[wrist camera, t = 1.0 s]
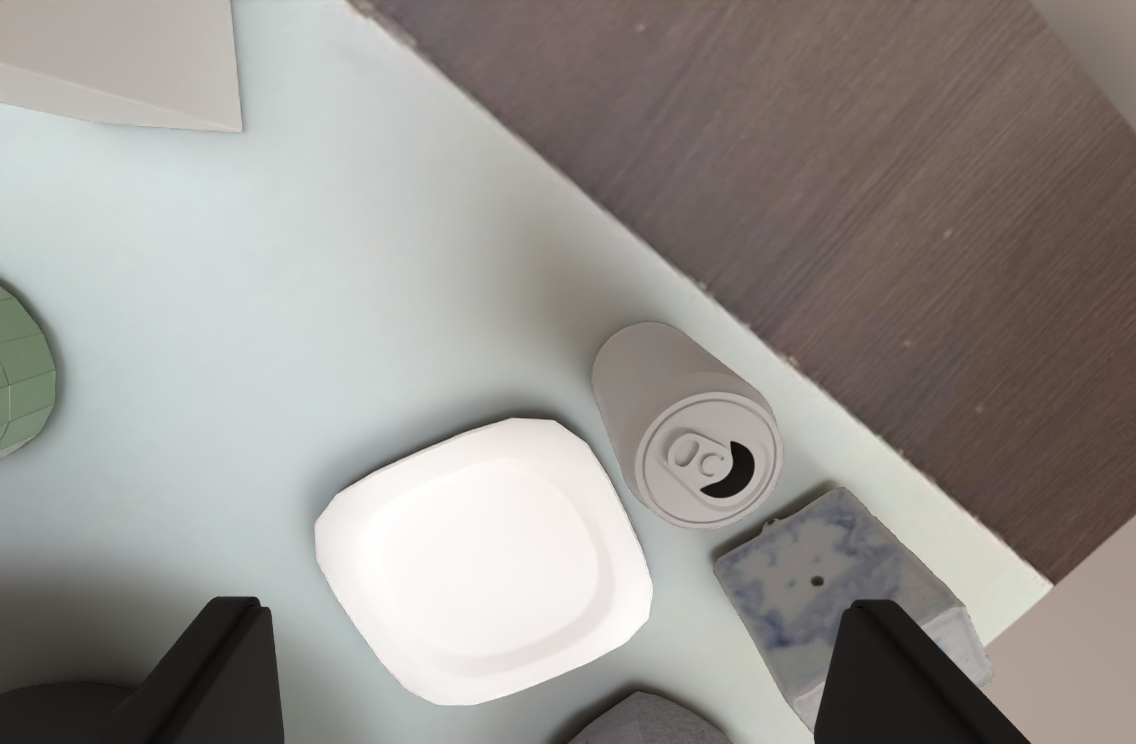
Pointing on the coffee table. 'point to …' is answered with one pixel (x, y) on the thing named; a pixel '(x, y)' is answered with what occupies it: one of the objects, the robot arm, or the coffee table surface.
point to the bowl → (56, 712)
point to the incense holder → (835, 594)
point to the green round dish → (22, 376)
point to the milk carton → (122, 61)
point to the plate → (486, 561)
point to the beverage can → (685, 427)
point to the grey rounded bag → (649, 724)
